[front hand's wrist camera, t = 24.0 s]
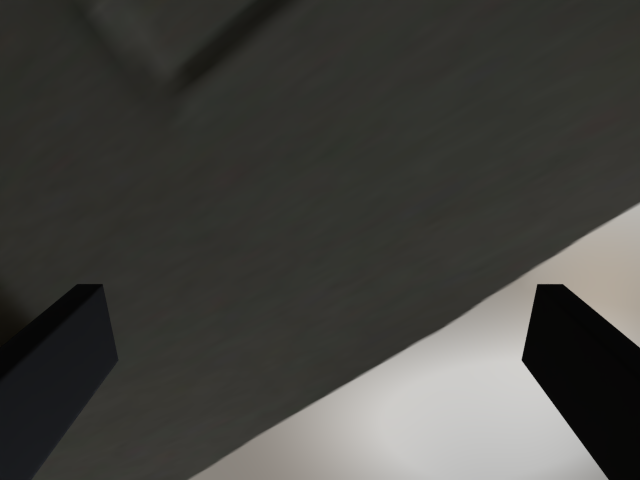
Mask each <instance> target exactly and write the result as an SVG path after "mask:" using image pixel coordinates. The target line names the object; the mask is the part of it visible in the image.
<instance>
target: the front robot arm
mask: <svg viewBox="0 0 640 480" xmlns="http://www.w3.org/2000/svg"><path fill="white" fill-rule="evenodd" d="M117 361H118V356H117V351H116V346H115V342H114V337H113V332H112V327H111V322H110V318H109V313H108V308H107V303H106V298H105V294H104V289H103V284H77V285H76V286H74V287H73V288H72V289H71V290H70V291H68V292H67V293H66V294H65V295H64V296H62V297H61V298H60V299H59V300H58V301H56V302H55V303H54V304H53V305H51V306H50V307H49V308H48V309H47V310H45V311H44V312H43V313H42V314H41V315H39V316H38V317H37V318H36V319H34V320H33V321H32V322H31V323H30V324H28V325H27V326H26V327H25V328H24V329H22V330H21V331H20V332H19V333H18V334H16V335H15V336H14V337H13V338H11V339H10V340H9V341H8V342H7V343H5V344H4V345H3V346H2V347H1V348H0V480H31V479H32V478H33V477H34V475H35V474H36V472H37V471H38V470H39V468H40V467H41V466H42V464H43V463H44V462H45V460H46V459H47V457H48V456H49V455H50V453H51V452H52V451H53V449H54V448H55V446H56V445H57V444H58V442H59V441H60V440H61V438H62V437H63V435H64V434H65V433H66V431H67V430H68V429H69V427H70V426H71V425H72V423H73V422H74V420H75V419H76V418H77V416H78V415H79V414H80V412H81V411H82V409H83V408H84V407H85V405H86V404H87V403H88V401H89V400H90V398H91V397H92V396H93V394H94V393H95V392H96V390H97V389H98V387H99V386H100V385H101V383H102V382H103V381H104V379H105V378H106V377H107V375H108V374H109V372H110V371H111V370H112V368H113V367H114V366H115V364H116V363H117ZM522 361H523V363H524V364H525V366H526V367H527V368H528V370H529V371H530V372H531V374H532V375H533V377H534V378H535V379H536V381H537V382H538V383H539V385H540V386H541V387H542V389H543V390H544V392H545V393H546V394H547V396H548V397H549V398H550V400H551V401H552V402H553V404H554V405H555V407H556V408H557V409H558V411H559V412H560V413H561V415H562V416H563V418H564V419H565V420H566V422H567V423H568V425H569V426H570V427H571V429H572V430H573V431H574V433H575V434H576V435H577V437H578V438H579V440H580V441H581V442H582V444H583V445H584V446H585V448H586V449H587V450H588V452H589V453H590V455H591V456H592V457H593V459H594V460H595V461H596V463H597V464H598V465H599V467H600V468H601V470H602V471H603V472H604V474H605V475H606V477H607V478H608V479H609V480H640V348H639V347H638V346H637V345H636V344H635V343H633V342H632V341H631V340H630V339H629V338H627V337H626V336H625V335H624V334H622V333H621V332H620V331H619V330H618V329H616V328H615V327H614V326H613V325H612V324H610V323H609V322H608V321H607V320H605V319H604V318H603V317H602V316H601V315H599V314H598V313H597V312H596V311H595V310H593V309H592V308H591V307H590V306H589V305H587V304H586V303H585V302H584V301H582V300H581V299H580V298H579V297H578V296H576V295H575V294H574V293H573V292H572V291H570V290H569V289H568V288H567V287H566V286H564V285H563V284H537V289H536V294H535V298H534V303H533V308H532V313H531V318H530V322H529V327H528V332H527V337H526V342H525V346H524V351H523V356H522Z"/></svg>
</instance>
